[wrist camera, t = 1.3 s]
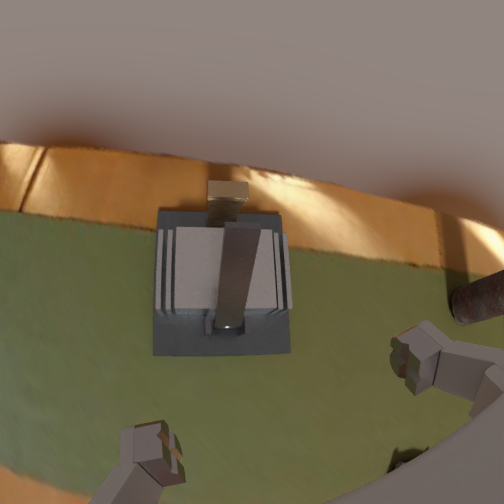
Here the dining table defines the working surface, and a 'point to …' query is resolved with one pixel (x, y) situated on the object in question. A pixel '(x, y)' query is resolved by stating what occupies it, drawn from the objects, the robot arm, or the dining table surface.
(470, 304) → the candle
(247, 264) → the retention strap
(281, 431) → the dining table surface
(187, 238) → the grey boxy piece
